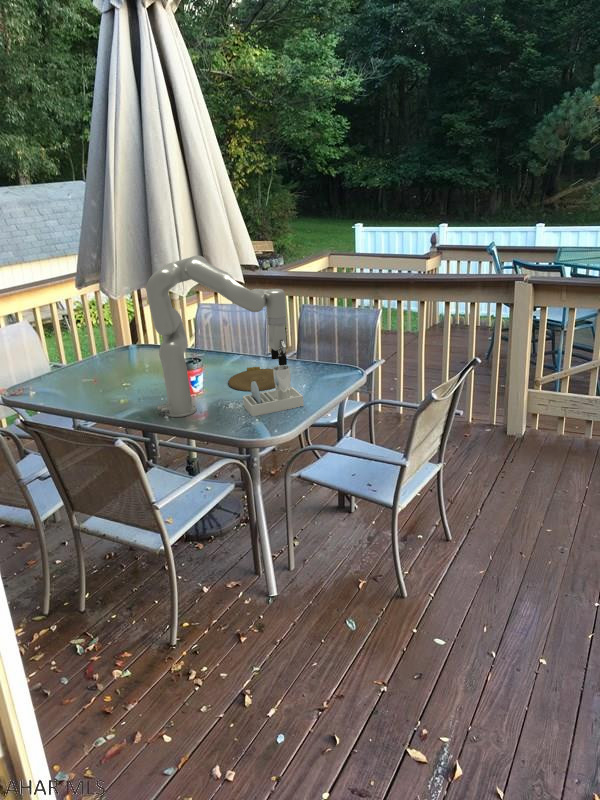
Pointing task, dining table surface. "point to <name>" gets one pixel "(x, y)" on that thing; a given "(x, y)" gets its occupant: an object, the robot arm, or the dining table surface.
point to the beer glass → (282, 381)
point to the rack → (270, 401)
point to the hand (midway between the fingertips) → (279, 362)
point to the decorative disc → (253, 379)
